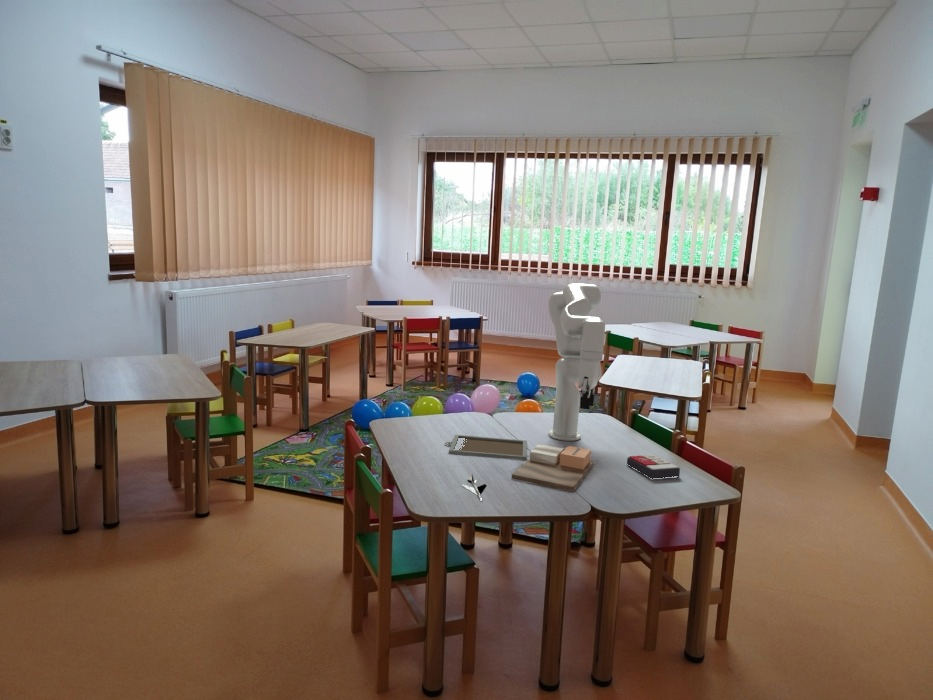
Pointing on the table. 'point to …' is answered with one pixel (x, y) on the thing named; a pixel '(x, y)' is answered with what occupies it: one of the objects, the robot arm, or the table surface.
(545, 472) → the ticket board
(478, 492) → the toy airplane
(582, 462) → the tan box with slot
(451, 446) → the framed hanging board
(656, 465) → the red black flat box
